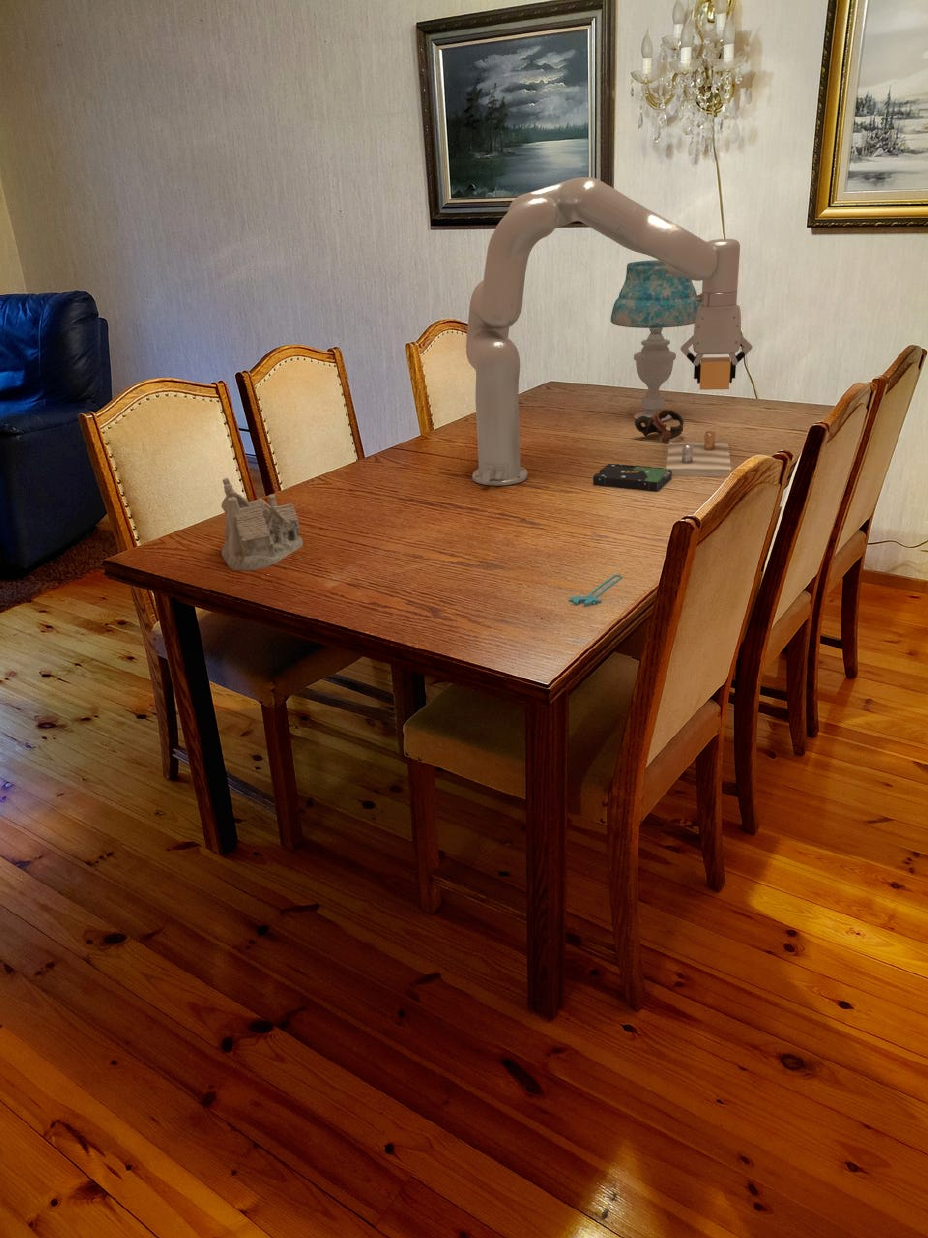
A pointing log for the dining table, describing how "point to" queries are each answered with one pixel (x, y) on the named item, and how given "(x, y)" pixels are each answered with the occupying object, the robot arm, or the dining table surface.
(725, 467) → the birch board
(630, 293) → the table lamp
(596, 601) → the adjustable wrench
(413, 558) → the dining table surface
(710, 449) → the copper post
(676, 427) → the brown wheeled mechanism
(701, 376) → the mustard wooden cube
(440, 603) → the dining table surface
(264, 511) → the ceramic cottage
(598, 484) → the disk drive
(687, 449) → the steel post
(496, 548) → the dining table surface
